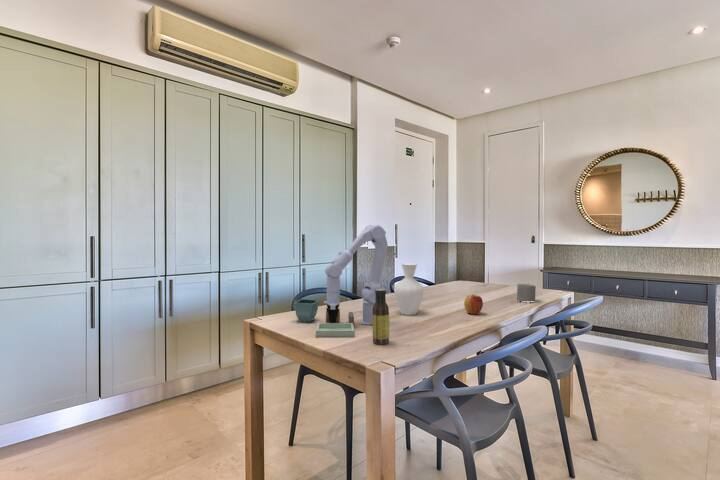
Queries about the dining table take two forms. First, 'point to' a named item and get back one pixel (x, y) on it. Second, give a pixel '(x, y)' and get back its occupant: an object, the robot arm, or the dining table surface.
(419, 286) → the vase
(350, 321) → the block
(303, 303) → the flower pot
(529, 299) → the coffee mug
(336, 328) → the tray
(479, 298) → the apple
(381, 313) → the sauce bottle
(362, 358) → the dining table surface
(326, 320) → the brown block
